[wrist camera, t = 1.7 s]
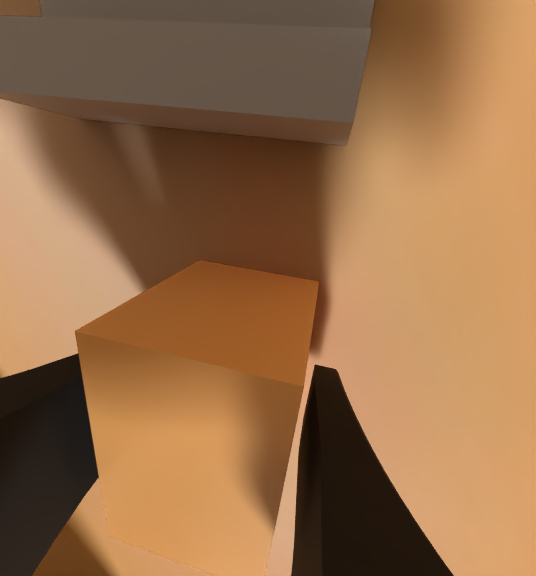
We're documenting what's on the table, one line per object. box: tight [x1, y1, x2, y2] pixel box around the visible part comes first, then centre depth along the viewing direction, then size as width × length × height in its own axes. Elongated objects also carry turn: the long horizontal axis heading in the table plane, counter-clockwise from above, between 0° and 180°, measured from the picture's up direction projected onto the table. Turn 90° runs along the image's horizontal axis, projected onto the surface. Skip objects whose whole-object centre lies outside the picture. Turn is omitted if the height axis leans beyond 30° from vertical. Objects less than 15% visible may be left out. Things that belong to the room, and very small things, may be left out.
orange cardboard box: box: [75, 260, 319, 576], centre depth 8 cm, size 4×6×5 cm, turn 174°
